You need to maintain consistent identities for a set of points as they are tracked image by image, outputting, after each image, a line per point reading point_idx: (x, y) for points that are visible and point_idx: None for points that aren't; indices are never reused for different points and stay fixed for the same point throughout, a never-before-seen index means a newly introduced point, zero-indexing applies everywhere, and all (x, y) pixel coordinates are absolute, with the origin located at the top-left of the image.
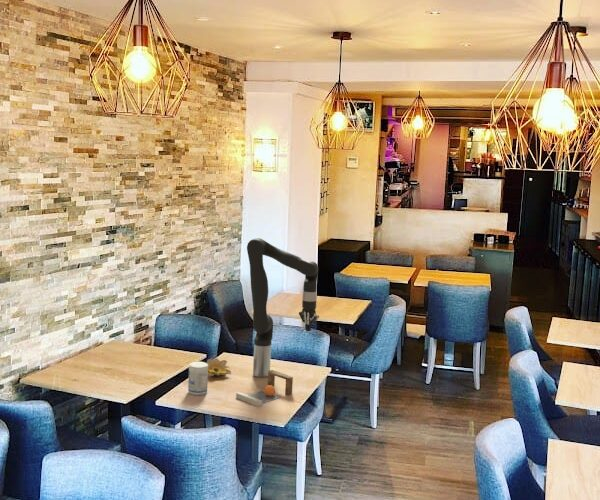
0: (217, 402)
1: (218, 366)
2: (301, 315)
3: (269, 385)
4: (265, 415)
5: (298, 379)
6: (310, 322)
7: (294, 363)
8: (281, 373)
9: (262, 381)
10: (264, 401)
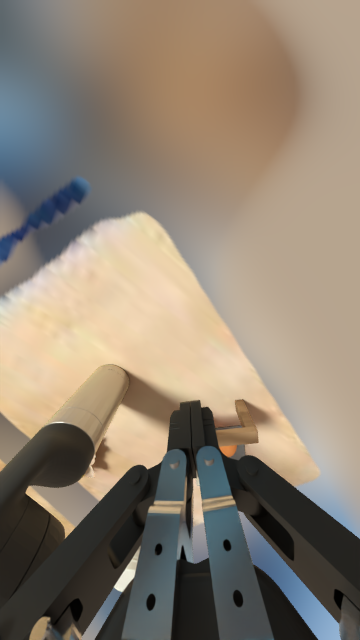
0: (197, 502)
1: None
2: (84, 629)
3: (227, 455)
4: (287, 481)
5: (178, 334)
6: (254, 515)
7: (68, 263)
8: (220, 436)
9: (149, 401)
10: (241, 455)
